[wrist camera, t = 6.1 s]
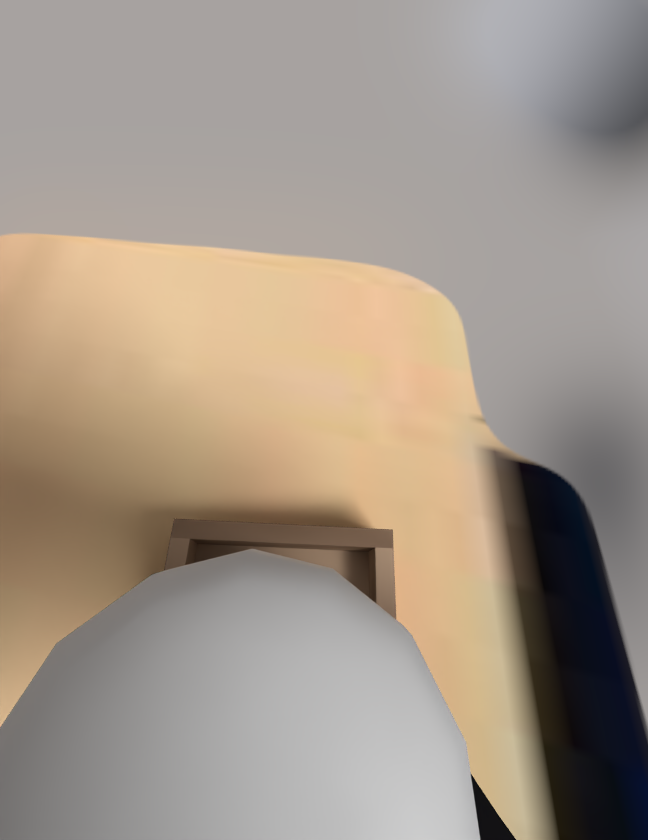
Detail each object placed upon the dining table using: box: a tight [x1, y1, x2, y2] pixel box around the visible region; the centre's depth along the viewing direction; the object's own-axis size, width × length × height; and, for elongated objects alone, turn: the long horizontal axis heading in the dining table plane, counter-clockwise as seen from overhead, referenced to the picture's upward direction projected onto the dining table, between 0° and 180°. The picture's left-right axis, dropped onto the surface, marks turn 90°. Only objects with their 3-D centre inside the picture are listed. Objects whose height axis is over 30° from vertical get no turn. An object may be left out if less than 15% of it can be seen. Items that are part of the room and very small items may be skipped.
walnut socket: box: [164, 519, 396, 619], centre depth 15 cm, size 9×9×2 cm
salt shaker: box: [0, 549, 480, 840], centre depth 8 cm, size 6×6×13 cm
